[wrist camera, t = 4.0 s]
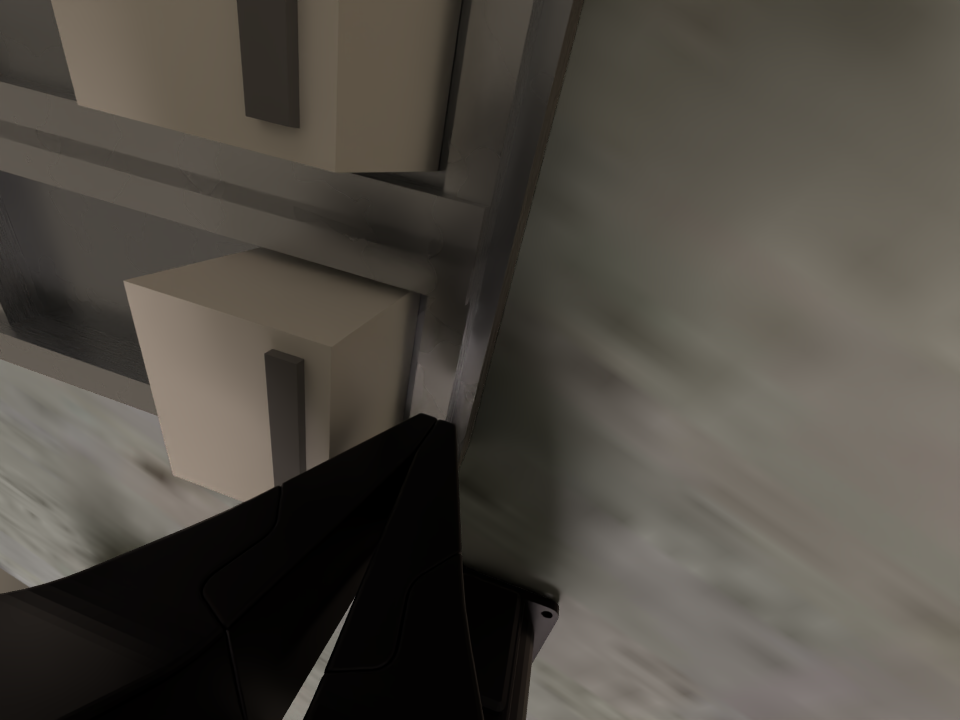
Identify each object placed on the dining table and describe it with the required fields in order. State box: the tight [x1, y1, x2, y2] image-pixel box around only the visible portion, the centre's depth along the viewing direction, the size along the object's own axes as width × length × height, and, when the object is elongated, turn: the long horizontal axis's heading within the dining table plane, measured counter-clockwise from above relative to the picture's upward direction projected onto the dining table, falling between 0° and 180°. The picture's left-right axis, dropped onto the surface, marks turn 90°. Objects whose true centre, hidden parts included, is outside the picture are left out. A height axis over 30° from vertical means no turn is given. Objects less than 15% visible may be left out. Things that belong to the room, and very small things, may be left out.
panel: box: [0, 0, 584, 471], centre depth 9 cm, size 21×18×4 cm
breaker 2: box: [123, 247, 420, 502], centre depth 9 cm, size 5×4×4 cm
